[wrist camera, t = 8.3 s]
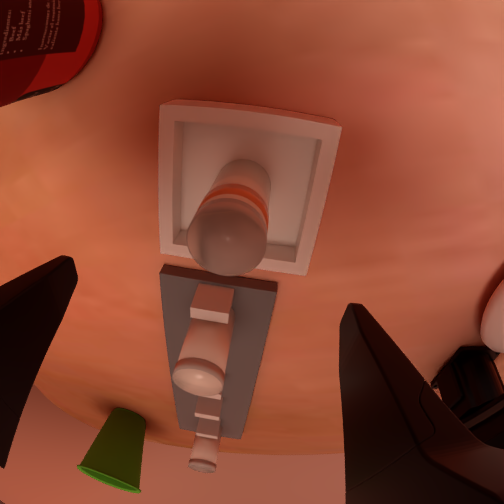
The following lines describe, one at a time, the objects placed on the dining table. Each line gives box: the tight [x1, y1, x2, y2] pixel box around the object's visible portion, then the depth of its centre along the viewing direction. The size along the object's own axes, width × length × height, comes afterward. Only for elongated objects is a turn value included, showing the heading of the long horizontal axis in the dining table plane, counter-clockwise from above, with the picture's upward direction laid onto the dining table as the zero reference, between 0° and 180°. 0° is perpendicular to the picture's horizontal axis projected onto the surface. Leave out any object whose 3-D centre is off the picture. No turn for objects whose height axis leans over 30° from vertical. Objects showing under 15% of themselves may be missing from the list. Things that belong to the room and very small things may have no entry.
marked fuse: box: [186, 159, 271, 276], centre depth 14 cm, size 3×3×6 cm
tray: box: [158, 99, 342, 276], centre depth 17 cm, size 9×9×2 cm
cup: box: [77, 408, 146, 493], centre depth 33 cm, size 9×9×11 cm
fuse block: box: [159, 265, 277, 439], centre depth 27 cm, size 8×26×3 cm, turn 173°
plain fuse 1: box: [172, 308, 235, 396], centre depth 20 cm, size 3×3×6 cm
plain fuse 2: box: [188, 425, 222, 473], centre depth 31 cm, size 3×3×6 cm
